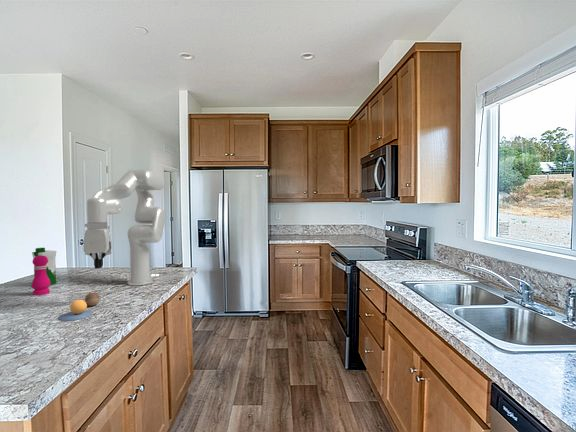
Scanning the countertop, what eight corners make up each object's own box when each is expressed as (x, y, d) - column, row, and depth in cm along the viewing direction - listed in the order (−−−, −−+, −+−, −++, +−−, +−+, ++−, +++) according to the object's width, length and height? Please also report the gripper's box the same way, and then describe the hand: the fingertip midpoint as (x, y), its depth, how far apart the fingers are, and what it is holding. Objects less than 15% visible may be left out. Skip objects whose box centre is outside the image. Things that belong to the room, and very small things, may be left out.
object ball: (82, 294, 129) (74, 300, 124) (92, 304, 130) (84, 310, 125) (72, 303, 129) (63, 309, 124) (82, 312, 130) (74, 319, 125)
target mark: (88, 309, 133) (88, 308, 133) (95, 315, 125) (95, 315, 125) (55, 315, 125) (55, 315, 125) (60, 323, 117) (60, 322, 117)
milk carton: (30, 286, 170) (29, 248, 170) (48, 282, 179) (47, 246, 178) (42, 287, 168) (41, 249, 167) (59, 283, 176) (58, 246, 175)
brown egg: (88, 292, 134) (87, 306, 133) (102, 292, 138) (101, 305, 137) (83, 292, 137) (81, 306, 136) (97, 292, 142) (95, 305, 140)
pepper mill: (40, 296, 152) (39, 253, 151) (27, 295, 153) (26, 253, 153) (54, 291, 159) (53, 251, 158) (42, 291, 160) (41, 251, 160)
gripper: (74, 227, 137) (76, 270, 138) (111, 226, 138) (112, 269, 139) (84, 225, 145) (85, 266, 146) (119, 225, 146) (120, 266, 146)
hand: (98, 267), depth 142 cm, fingers closed
